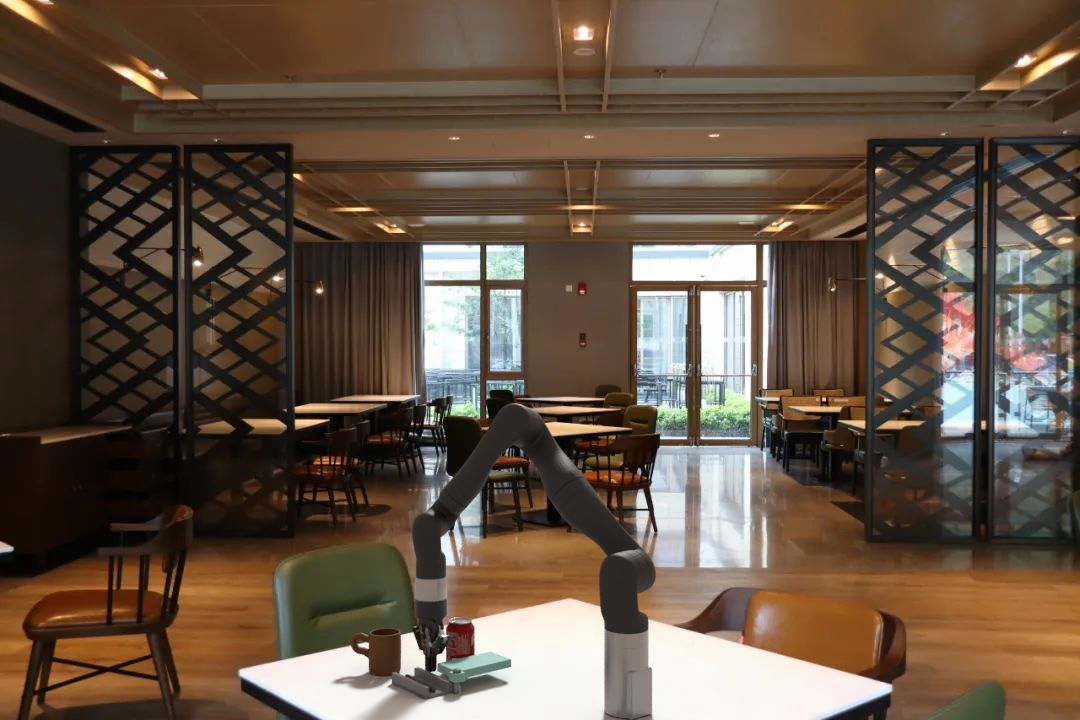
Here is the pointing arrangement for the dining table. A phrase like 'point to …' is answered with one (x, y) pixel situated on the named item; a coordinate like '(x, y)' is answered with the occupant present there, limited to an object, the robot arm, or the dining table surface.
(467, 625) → the soda can
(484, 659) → the cover
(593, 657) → the dining table surface
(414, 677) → the grey rail
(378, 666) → the mug
